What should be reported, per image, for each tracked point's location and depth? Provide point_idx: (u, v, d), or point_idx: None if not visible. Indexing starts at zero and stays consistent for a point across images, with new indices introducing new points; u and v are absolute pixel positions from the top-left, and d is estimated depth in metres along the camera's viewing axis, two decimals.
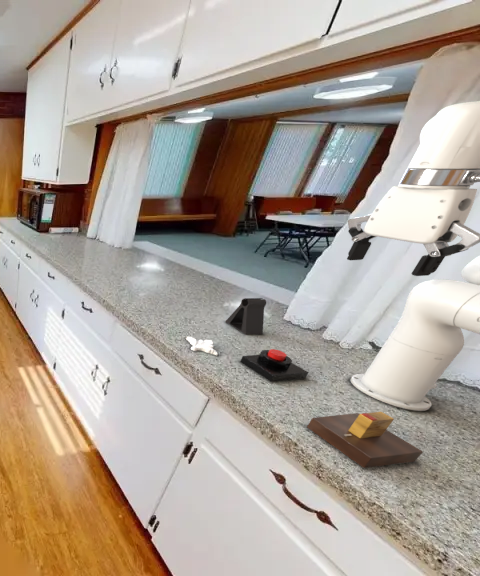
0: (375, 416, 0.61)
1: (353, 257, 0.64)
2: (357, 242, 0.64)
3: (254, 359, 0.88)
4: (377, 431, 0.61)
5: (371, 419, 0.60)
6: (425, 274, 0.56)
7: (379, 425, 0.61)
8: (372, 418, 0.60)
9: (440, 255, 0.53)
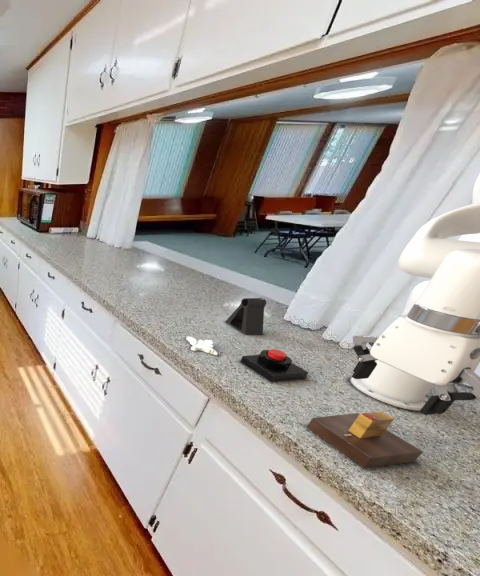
0: (375, 416, 0.61)
1: (358, 376, 0.62)
2: (362, 362, 0.61)
3: (254, 359, 0.88)
4: (377, 431, 0.61)
5: (371, 419, 0.60)
6: (434, 413, 0.54)
7: (379, 425, 0.61)
8: (372, 418, 0.60)
9: (450, 400, 0.51)
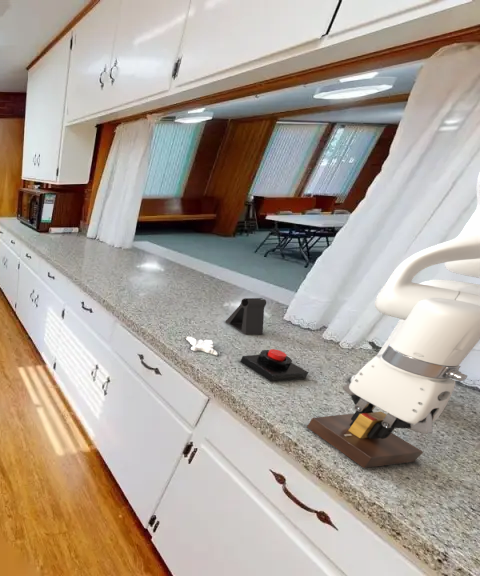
0: (375, 416, 0.61)
1: None
2: (360, 412, 0.62)
3: (254, 359, 0.88)
4: None
5: (371, 419, 0.60)
6: (379, 437, 0.61)
7: None
8: (372, 418, 0.60)
9: (391, 427, 0.59)
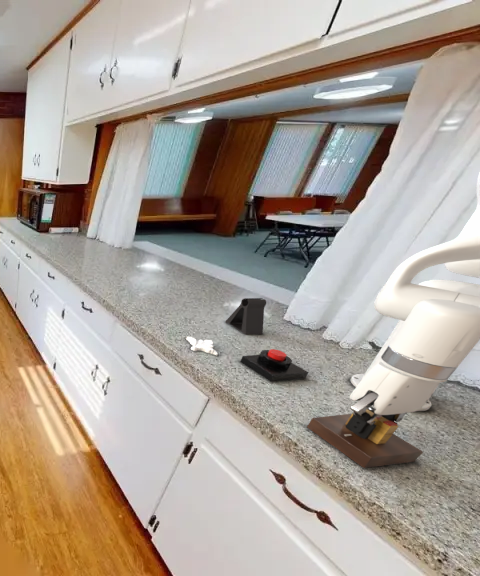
0: None
1: None
2: (374, 425, 0.60)
3: (254, 359, 0.88)
4: None
5: (396, 424, 0.59)
6: None
7: None
8: (393, 423, 0.59)
9: None
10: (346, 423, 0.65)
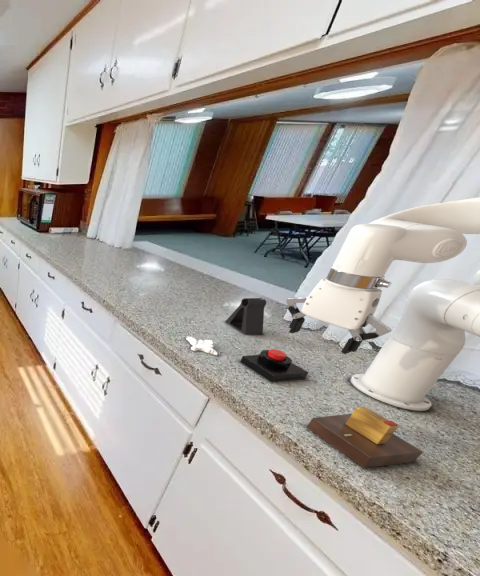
0: (379, 417, 0.61)
1: (294, 331, 0.77)
2: (296, 319, 0.76)
3: (254, 359, 0.88)
4: None
5: (396, 424, 0.59)
6: (349, 351, 0.70)
7: None
8: (393, 423, 0.59)
9: (361, 340, 0.67)
10: (346, 423, 0.65)
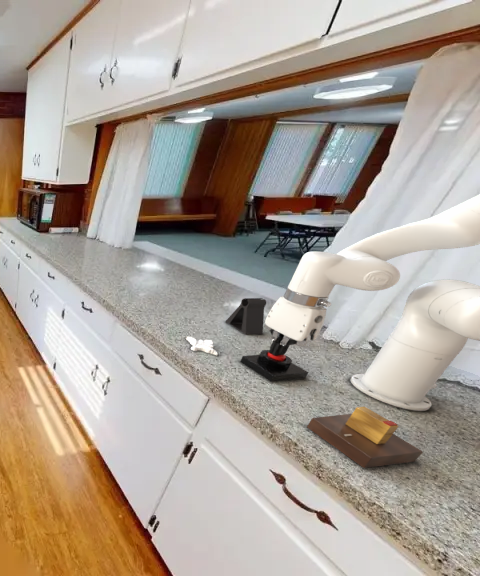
0: (379, 417, 0.61)
1: (272, 351, 0.86)
2: (274, 341, 0.85)
3: (254, 359, 0.88)
4: None
5: (396, 424, 0.59)
6: (280, 354, 0.85)
7: None
8: (393, 423, 0.59)
9: (285, 345, 0.83)
10: (346, 423, 0.65)
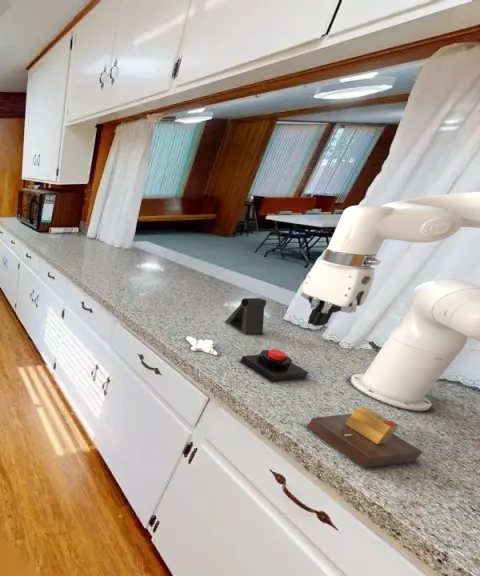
0: (379, 417, 0.61)
1: (312, 321, 0.78)
2: (314, 310, 0.77)
3: (254, 359, 0.88)
4: None
5: (396, 424, 0.59)
6: (321, 324, 0.77)
7: None
8: (393, 423, 0.59)
9: (328, 312, 0.75)
10: (346, 423, 0.65)
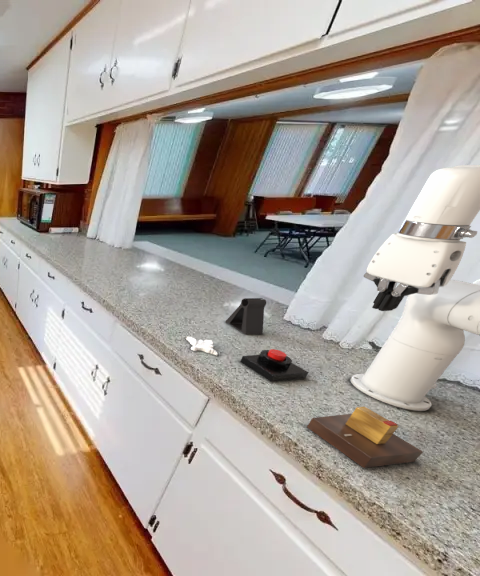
0: (379, 417, 0.61)
1: (378, 306, 0.68)
2: (382, 293, 0.67)
3: (254, 359, 0.88)
4: None
5: (396, 424, 0.59)
6: (389, 309, 0.67)
7: None
8: (393, 423, 0.59)
9: (400, 295, 0.65)
10: (346, 423, 0.65)
